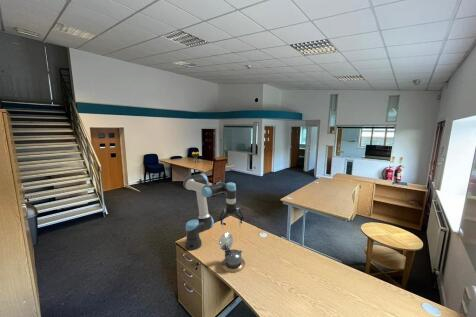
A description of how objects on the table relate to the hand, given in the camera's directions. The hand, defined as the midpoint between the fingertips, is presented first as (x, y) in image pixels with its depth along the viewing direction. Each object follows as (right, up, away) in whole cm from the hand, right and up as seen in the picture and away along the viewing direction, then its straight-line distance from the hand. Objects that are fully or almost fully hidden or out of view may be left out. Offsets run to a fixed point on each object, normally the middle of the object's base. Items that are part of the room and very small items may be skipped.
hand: (231, 227), depth 167 cm
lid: (-4, -13, +4) cm, 14 cm away
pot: (+1, -30, +1) cm, 30 cm away
